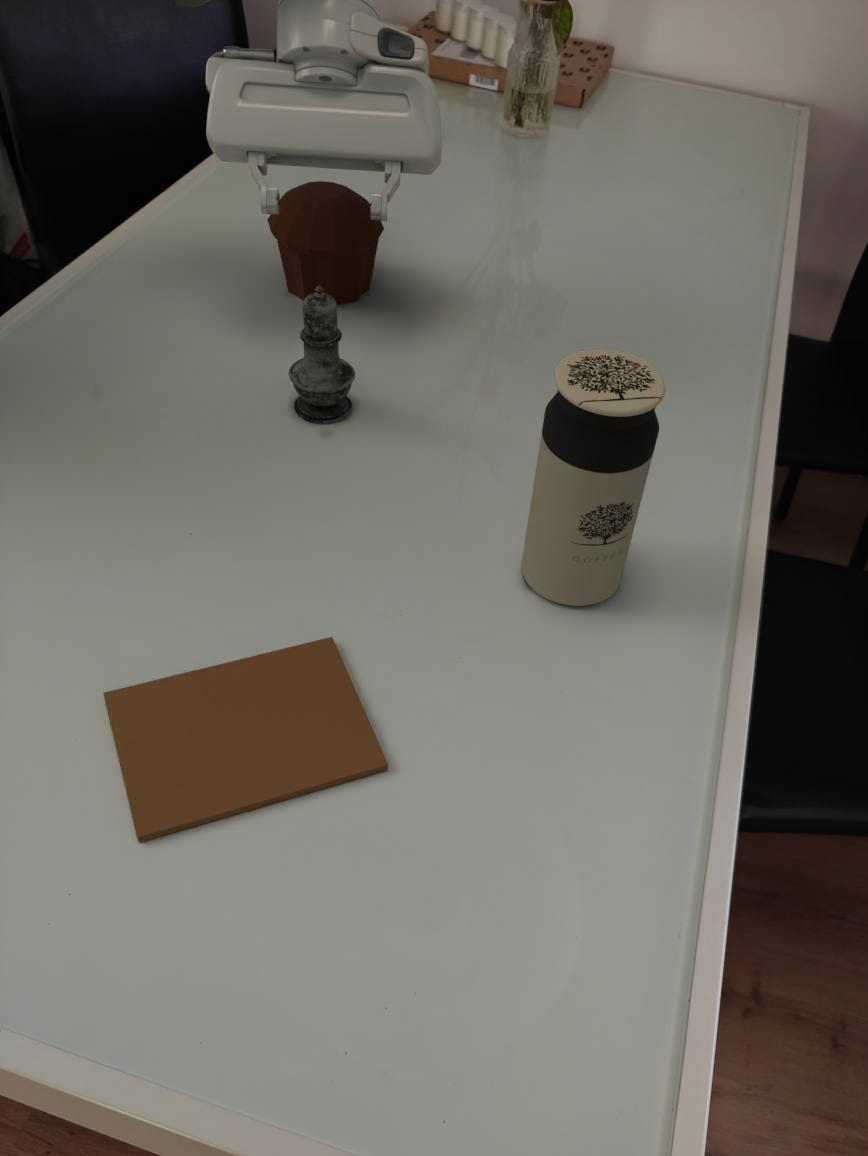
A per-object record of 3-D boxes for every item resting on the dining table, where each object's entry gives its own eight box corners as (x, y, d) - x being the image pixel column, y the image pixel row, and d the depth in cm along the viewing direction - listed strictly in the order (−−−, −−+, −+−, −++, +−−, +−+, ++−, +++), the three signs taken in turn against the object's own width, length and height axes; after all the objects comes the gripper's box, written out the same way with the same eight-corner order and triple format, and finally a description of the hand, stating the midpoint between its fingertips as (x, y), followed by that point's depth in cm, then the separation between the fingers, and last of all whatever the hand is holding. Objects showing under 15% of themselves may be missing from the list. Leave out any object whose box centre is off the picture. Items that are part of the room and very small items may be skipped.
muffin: (401, 278, 111) (404, 185, 104) (350, 323, 104) (349, 228, 96) (306, 248, 114) (302, 155, 106) (250, 290, 106) (242, 195, 99)
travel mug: (516, 538, 84) (544, 343, 71) (611, 540, 85) (657, 347, 71) (525, 608, 78) (558, 411, 65) (627, 609, 79) (680, 415, 66)
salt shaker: (278, 401, 94) (269, 278, 85) (331, 381, 97) (328, 261, 88) (314, 433, 91) (309, 310, 82) (368, 412, 94) (368, 291, 85)
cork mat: (138, 843, 62) (137, 837, 62) (104, 698, 69) (103, 692, 69) (388, 769, 67) (388, 764, 67) (332, 641, 75) (332, 636, 74)
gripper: (199, 24, 85) (196, 194, 86) (445, 43, 87) (441, 209, 88) (212, 63, 91) (209, 221, 92) (441, 80, 93) (437, 235, 94)
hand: (324, 215), depth 90 cm, fingers open, 8 cm apart
